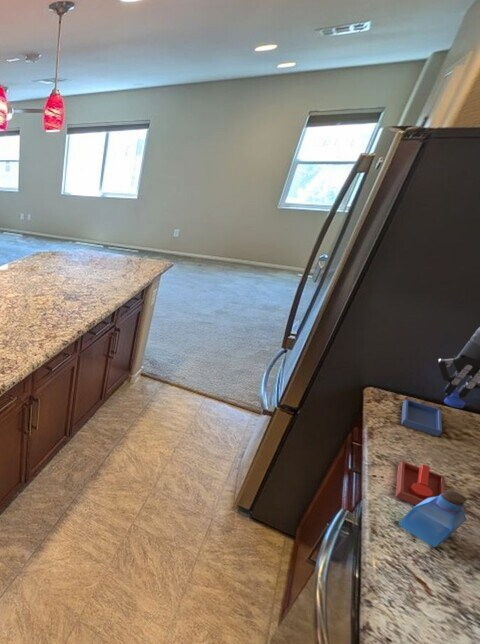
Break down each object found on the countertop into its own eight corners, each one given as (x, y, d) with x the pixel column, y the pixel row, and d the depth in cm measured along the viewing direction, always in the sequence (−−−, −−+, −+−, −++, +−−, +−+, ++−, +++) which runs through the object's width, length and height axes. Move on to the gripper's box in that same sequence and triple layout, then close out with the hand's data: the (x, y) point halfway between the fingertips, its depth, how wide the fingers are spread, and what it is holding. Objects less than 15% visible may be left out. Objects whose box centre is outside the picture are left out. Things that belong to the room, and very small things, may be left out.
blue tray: (402, 403, 126) (406, 398, 125) (437, 414, 121) (441, 409, 120) (401, 424, 118) (404, 419, 117) (438, 436, 113) (442, 431, 112)
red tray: (397, 465, 104) (401, 460, 103) (440, 481, 99) (444, 476, 98) (395, 497, 95) (399, 491, 94) (441, 516, 91) (446, 510, 90)
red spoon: (413, 465, 101) (416, 461, 100) (432, 472, 99) (436, 468, 98) (408, 493, 96) (412, 489, 95) (429, 501, 94) (433, 497, 93)
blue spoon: (441, 387, 112) (444, 383, 112) (459, 392, 110) (463, 387, 109) (444, 404, 106) (447, 399, 105) (463, 409, 104) (467, 405, 103)
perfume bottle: (412, 515, 91) (443, 480, 85) (448, 537, 86) (483, 502, 80) (398, 524, 89) (428, 489, 83) (434, 547, 84) (469, 512, 78)
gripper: (532, 345, 98) (487, 399, 107) (453, 329, 106) (417, 381, 115) (538, 357, 93) (490, 412, 102) (455, 339, 102) (418, 392, 111)
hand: (452, 395), depth 109 cm, fingers closed on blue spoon, 1 cm apart
